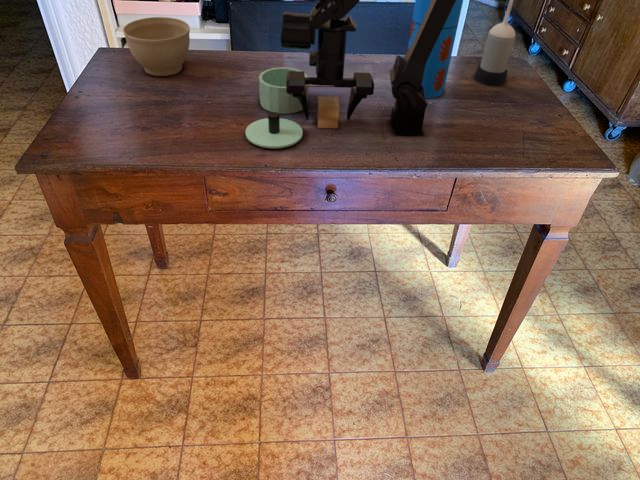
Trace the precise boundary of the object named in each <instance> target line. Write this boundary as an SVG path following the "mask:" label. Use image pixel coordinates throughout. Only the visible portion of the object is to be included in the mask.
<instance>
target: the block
mask: <svg viewBox="0 0 640 480" xmlns="http://www.w3.org/2000/svg"><path fill="white" fill-rule="evenodd" d="M316 112H317V116H316V122H317V128H318V129H338V128H339V118H340V117H339V116H340V101H339V97H338V96H326V95H325V96H323V95H322V96H321V95H320V96H319V95H318V96H317V109H316Z"/></svg>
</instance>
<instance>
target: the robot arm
mask: <svg viewBox="0 0 640 480" xmlns="http://www.w3.org/2000/svg"><path fill="white" fill-rule="evenodd" d="M360 1H361V0H318V1H317V3H316V4H315V5H314V7H312V9H311V12H310V13H298V12H297V13H296V12H291V11H284V12H283V14H282V25H281V33H280V46H281V49H293V50H309V54H308V57H309V58H308V60H309V61H308V65H309V67H315V75H316V77H312V76H311V77H310V76H308V77H305V74H306V73H305V71H303V70H300V71H289V72H288V73H287V74H286V93H288V94H292V96H293V97H297V98H298V100H299V102H300V104H301V106H302V108H303V110H302V111H303V113H304V116H305V119H306V120H309V116H310V115H309V105H308V103H307V95H306V87H308V88H346V89H347V88H350V96H349V100H348V105H347V106H348V107H347V109H346V120H347V121H349V120H350V119H351V117H352V115H353V114H354V112H355V110H356V108H357V107H358V105H359V104H360V102H362V100H363V99H364V100H365V99H367V98H368V96H373V95H374V90H375V82H374V77H373V76H372V74H371V73H370V72H354V73H353V76H352V77H344V73H345V61H346V59H345V58H346V46H347V32H356V31H357V22H355V21H354V19H352V16H351V15H350V14H348V13H349V12H350V11H352V9H353V8H355V6H356V5H358V3H359V2H360ZM455 2H456V0H432V1H431V4H430V6H429V8H428V10H427V12H426V15H425V17H424V19H423V21H422V23H421V26H420V28H419V30H418V32H417V34H416V37H415V39H414V41H413V43H412V45H411V48H410V50H409V51H408V50H407V51H408V53H407V52H406V54H405V55H403V57H402V56H401V55H399V54H397V55H396V56H395V61H394V64H393V66H392V67H391V68H390V70H389V78H390V79H389V81H390V86H391V93H392V97H393V98H394V100H395V101H394V102H395V103H394V106H392V107H391V113H390V118H389V119H390V120H389V124H390V127H391V129H392V131H393V134H394V135H395V136H424V131H423V124H424V119H425V115H426V109H427V107H428V101H427V98H426V96H425V91H424V87H423V86H422V85H421V84H422V81H423V76H424V71H425V66H426V62H427V60H428V58H429V56H430V54H431V52H432V49H433V47H434V45H435V43H436V41H437V39H438V37H439V35H440V33H441V31H442V29H443V27H444V25H445V23H446V21H447V18H448V16H449V14H450V12H451V10H452V8H453V6H454V4H455ZM316 30H318V32H317V33H318V35H317V50H310V48H312V46H315V44H316ZM304 73H305V74H304Z"/></svg>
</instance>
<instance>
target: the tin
mask: <svg viewBox="0 0 640 480" xmlns="http://www.w3.org/2000/svg"><path fill="white" fill-rule="evenodd" d="M289 71H301V69H298V68H294V67H281V66H280V67H273V68H268V69H266V70H264V71H262V72H261V73H259V75H258V84H259V85H258V87H259V90H258V91H259V103H260V106H261V107H262V109H264V110H266V111H268V112H269V113H271V112H277V113H279V115H280V114H283V115H287V114H294V113H298V112H301V111H303V108H302V106H301V104H300V102H299V100H298V98H297V97H293V96H292V94H288V93H286V74H287V73H288V72H289ZM304 74H305V77H309V75H308V74H307V73H306V72H304ZM306 95H307V103H308V100H309V99H308V97H309V87H306Z"/></svg>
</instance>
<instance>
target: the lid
mask: <svg viewBox="0 0 640 480" xmlns="http://www.w3.org/2000/svg"><path fill="white" fill-rule="evenodd" d="M280 116H281V115H280V113H277V112H269V113H268V114H267V117H266V118H260V119H258V120H255V121H253V122H251V123H249V124H248V126H247V127H246V128H245V138H246V140H247V141H248V142H250V143H251V144H253V145H255V146H258V147H261V148H266V149H283V148H288V147H291V146H294V145H296V144H297V143H298V142H300V141H301V139H302V138H303V135H304V130H303V128H302V126H301V125H300V124H298V122H295V121H293V120H291V119H288V118H283V117H280Z"/></svg>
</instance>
